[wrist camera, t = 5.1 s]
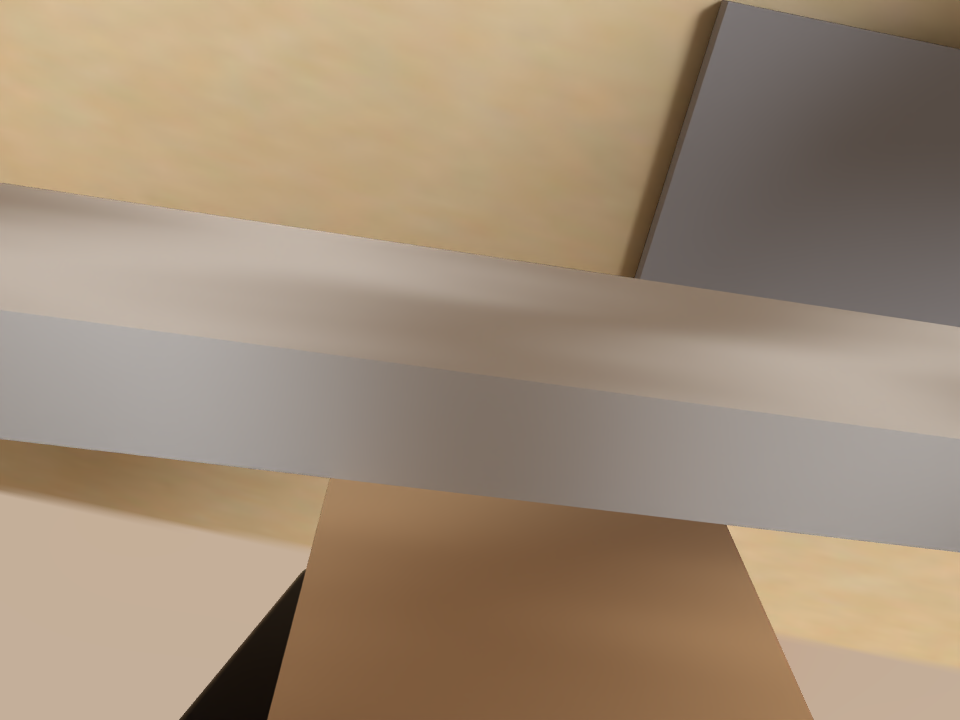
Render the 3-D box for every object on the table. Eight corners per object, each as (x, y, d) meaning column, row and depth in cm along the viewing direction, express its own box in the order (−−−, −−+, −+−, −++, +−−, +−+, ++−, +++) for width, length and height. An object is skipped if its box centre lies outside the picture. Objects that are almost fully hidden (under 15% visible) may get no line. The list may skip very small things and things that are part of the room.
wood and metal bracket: (1040, 339, 8) (1660, 763, 4) (780, 752, 12) (949, 1186, 8) (-47, 176, 7) (-826, 520, 3) (56, 688, 11) (-202, 1155, 7)
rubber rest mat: (1260, 111, 18) (1279, 116, 17) (1016, 457, 23) (1026, 466, 23) (722, 0, 17) (728, 1, 16) (598, 392, 22) (600, 401, 22)
